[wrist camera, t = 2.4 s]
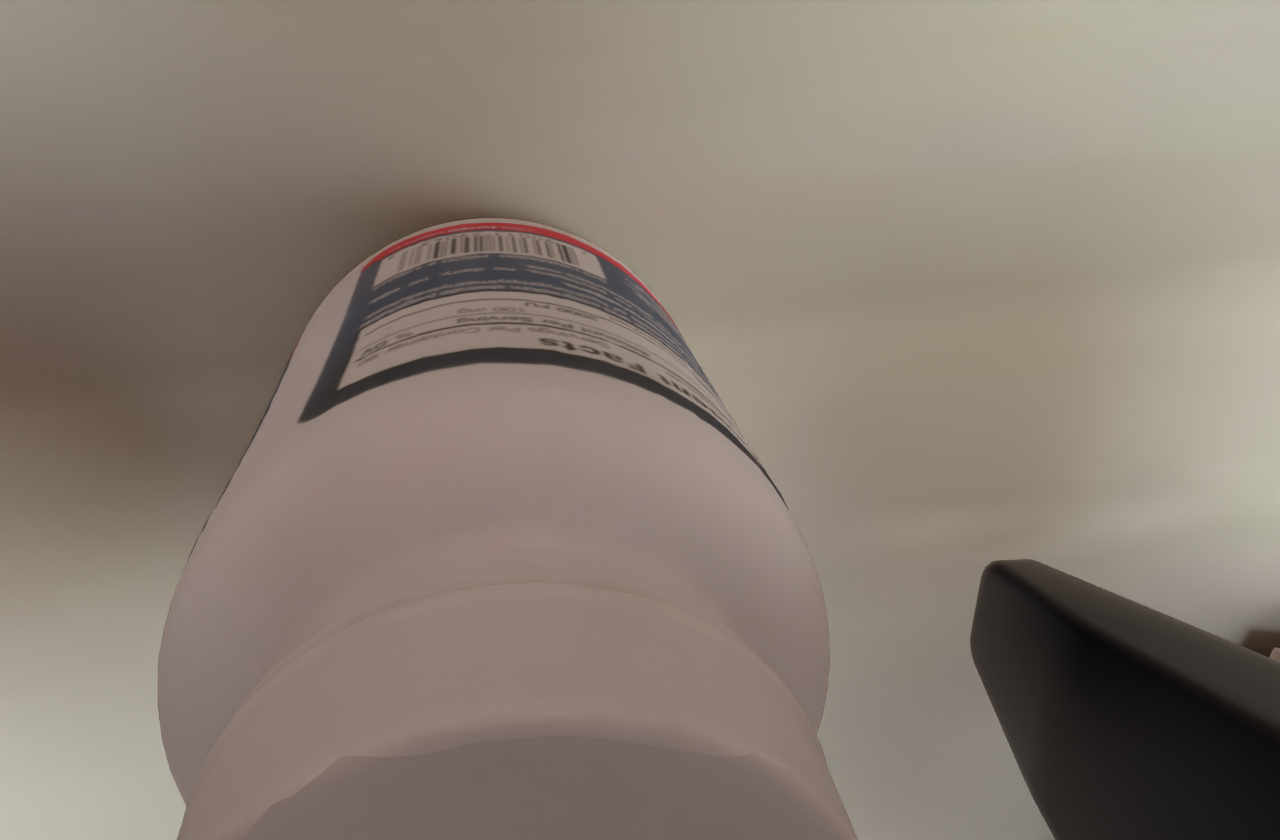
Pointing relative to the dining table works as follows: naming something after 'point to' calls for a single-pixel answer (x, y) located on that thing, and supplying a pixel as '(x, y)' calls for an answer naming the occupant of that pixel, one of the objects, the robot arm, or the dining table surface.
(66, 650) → the dining table surface
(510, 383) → the pill bottle
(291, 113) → the dining table surface
